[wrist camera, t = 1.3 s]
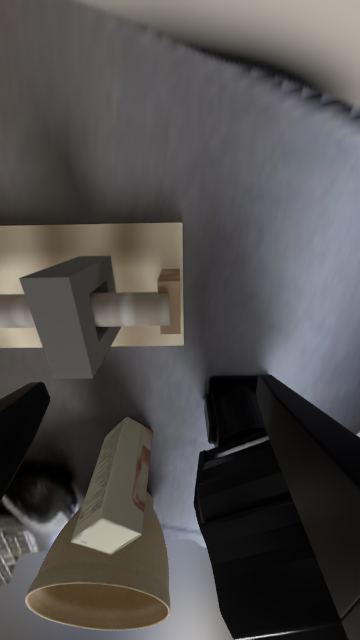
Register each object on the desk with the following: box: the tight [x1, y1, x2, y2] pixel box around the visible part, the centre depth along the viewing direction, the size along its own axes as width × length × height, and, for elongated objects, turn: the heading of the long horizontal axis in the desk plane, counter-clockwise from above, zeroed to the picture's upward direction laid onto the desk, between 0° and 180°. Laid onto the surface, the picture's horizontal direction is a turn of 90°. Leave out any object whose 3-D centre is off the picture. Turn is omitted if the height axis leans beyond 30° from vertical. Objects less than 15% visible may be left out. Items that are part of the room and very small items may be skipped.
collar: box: [19, 256, 121, 379], centre depth 15 cm, size 2×6×7 cm, turn 1°
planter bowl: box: [25, 491, 170, 630], centre depth 29 cm, size 16×16×11 cm
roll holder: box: [0, 222, 184, 348], centre depth 17 cm, size 22×11×6 cm, turn 91°
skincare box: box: [71, 417, 153, 554], centre depth 23 cm, size 5×4×10 cm
